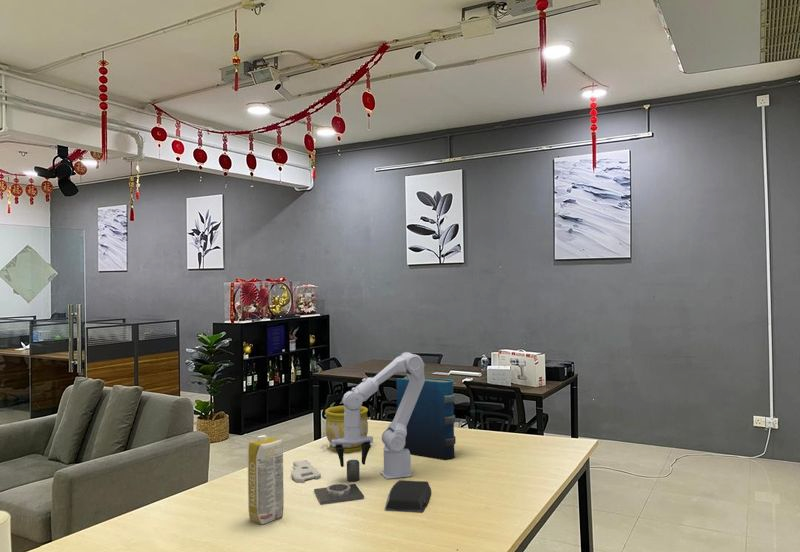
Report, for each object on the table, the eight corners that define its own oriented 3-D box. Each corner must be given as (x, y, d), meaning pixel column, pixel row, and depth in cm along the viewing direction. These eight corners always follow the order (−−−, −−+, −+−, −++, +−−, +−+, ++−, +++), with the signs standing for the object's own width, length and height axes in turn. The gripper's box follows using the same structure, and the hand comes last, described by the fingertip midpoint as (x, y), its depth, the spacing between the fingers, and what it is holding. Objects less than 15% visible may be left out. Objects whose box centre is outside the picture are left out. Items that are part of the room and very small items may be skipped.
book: (460, 455, 230) (458, 379, 230) (450, 461, 222) (448, 382, 223) (408, 447, 242) (407, 375, 243) (397, 452, 235) (396, 378, 236)
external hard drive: (381, 512, 174) (381, 498, 174) (395, 490, 193) (394, 477, 193) (424, 514, 171) (424, 500, 171) (433, 492, 190) (433, 479, 190)
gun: (283, 460, 215) (309, 457, 220) (283, 469, 215) (309, 466, 220) (297, 477, 199) (324, 473, 203) (297, 487, 199) (324, 482, 203)
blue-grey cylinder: (357, 477, 205) (357, 458, 205) (361, 481, 201) (360, 462, 201) (345, 478, 204) (345, 460, 204) (348, 482, 199) (348, 463, 199)
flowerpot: (316, 450, 240) (316, 411, 240) (344, 440, 255) (344, 403, 255) (349, 457, 230) (349, 415, 230) (377, 446, 245) (376, 407, 245)
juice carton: (270, 510, 175) (269, 431, 176) (287, 516, 170) (286, 435, 171) (244, 520, 168) (243, 437, 169) (261, 527, 163) (260, 441, 164)
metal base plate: (355, 486, 195) (355, 479, 195) (364, 498, 184) (364, 490, 184) (314, 491, 191) (313, 484, 191) (320, 504, 179) (320, 496, 179)
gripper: (369, 421, 209) (369, 459, 208) (329, 425, 204) (330, 463, 204) (374, 426, 202) (375, 465, 202) (333, 429, 197) (334, 469, 197)
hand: (352, 465), depth 202 cm, fingers open, 7 cm apart
